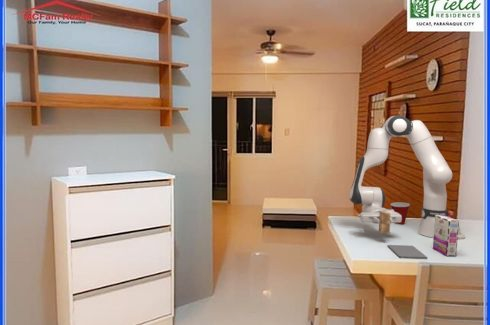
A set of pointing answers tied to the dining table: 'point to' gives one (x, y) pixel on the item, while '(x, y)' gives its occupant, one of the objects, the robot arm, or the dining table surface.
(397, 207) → the plastic cup
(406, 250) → the slate mat
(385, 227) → the oak block
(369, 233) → the dining table surface
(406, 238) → the dining table surface
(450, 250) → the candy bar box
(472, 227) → the dining table surface
